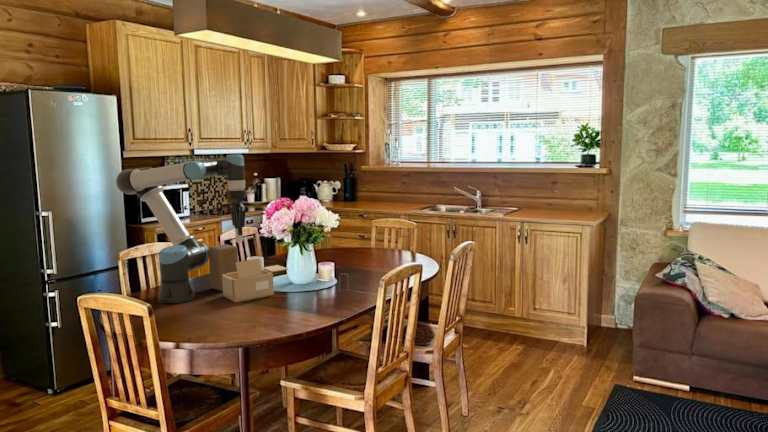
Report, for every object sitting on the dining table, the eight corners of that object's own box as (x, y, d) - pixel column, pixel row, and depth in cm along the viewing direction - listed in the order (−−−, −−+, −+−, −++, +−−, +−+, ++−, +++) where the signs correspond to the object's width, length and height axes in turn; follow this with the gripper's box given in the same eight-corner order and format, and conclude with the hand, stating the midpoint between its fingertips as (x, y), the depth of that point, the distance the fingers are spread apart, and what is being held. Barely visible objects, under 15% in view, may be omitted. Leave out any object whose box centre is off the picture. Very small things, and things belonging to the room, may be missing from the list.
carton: (234, 303, 250) (233, 280, 249) (220, 296, 262) (219, 274, 261) (274, 295, 261) (273, 273, 260) (259, 288, 273) (258, 267, 272)
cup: (267, 276, 298) (266, 256, 296) (253, 281, 287) (252, 261, 286) (254, 275, 301) (253, 255, 300) (239, 280, 290) (238, 260, 289)
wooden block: (239, 287, 276) (238, 246, 273) (220, 291, 269) (219, 249, 266) (228, 284, 283) (226, 243, 280) (209, 287, 276) (208, 246, 273)
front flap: (238, 278, 251) (239, 277, 250) (235, 262, 252) (235, 262, 252) (262, 274, 257) (262, 273, 257) (258, 259, 259) (259, 258, 258)
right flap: (287, 268, 267) (287, 269, 267) (277, 264, 275) (277, 266, 275) (271, 271, 262) (271, 272, 262) (262, 267, 270) (262, 268, 270)
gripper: (251, 189, 254) (253, 243, 258) (238, 188, 265) (241, 239, 268) (234, 191, 250) (237, 245, 253) (222, 189, 260) (225, 241, 263)
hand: (239, 242), depth 260 cm, fingers closed
